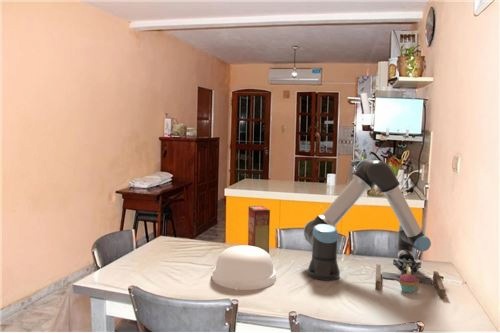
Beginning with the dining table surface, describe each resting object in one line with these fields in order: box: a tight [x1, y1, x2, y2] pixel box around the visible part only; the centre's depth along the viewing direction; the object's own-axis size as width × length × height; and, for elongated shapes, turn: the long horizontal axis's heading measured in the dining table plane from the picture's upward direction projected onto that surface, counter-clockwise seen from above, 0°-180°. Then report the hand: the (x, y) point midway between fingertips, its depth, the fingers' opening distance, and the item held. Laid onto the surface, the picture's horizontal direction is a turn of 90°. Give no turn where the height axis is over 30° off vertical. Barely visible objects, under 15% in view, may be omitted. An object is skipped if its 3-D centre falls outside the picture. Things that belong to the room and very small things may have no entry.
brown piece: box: [374, 264, 446, 300], centre depth 192 cm, size 28×24×4 cm
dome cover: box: [211, 244, 277, 291], centre depth 195 cm, size 32×30×14 cm
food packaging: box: [247, 205, 271, 255], centre depth 236 cm, size 13×9×25 cm
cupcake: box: [397, 264, 420, 294], centre depth 184 cm, size 9×8×12 cm
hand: (409, 274), depth 188 cm, fingers closed
